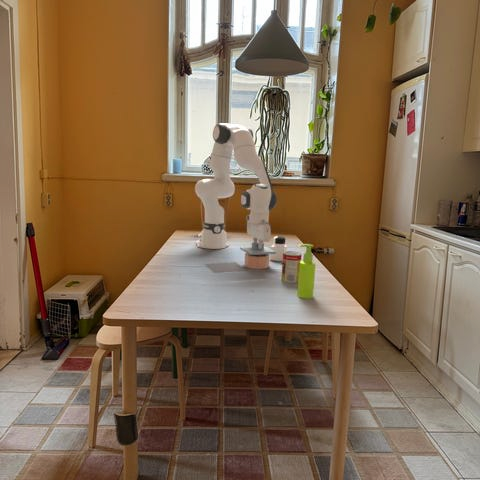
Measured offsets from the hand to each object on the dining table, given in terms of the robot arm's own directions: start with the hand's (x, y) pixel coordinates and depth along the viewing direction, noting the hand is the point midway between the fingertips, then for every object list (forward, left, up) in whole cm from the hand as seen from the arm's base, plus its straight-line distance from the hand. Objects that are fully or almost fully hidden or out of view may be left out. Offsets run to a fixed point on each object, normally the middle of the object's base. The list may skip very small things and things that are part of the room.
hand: (257, 247), depth 194 cm
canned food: (+25, +5, -10) cm, 27 cm away
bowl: (0, 0, -9) cm, 9 cm away
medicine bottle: (-11, +17, -10) cm, 22 cm away
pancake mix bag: (-84, +5, -10) cm, 85 cm away
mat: (0, -16, -9) cm, 19 cm away
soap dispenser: (+45, 0, -10) cm, 46 cm away
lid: (0, 0, -2) cm, 2 cm away
